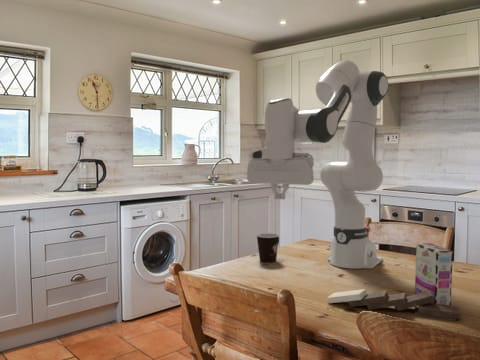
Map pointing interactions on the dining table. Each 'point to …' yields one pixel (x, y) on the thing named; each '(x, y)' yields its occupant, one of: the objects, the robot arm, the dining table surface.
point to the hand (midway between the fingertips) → (279, 199)
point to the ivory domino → (347, 296)
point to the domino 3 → (416, 300)
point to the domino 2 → (390, 301)
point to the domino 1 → (370, 299)
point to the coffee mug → (267, 247)
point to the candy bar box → (434, 272)
